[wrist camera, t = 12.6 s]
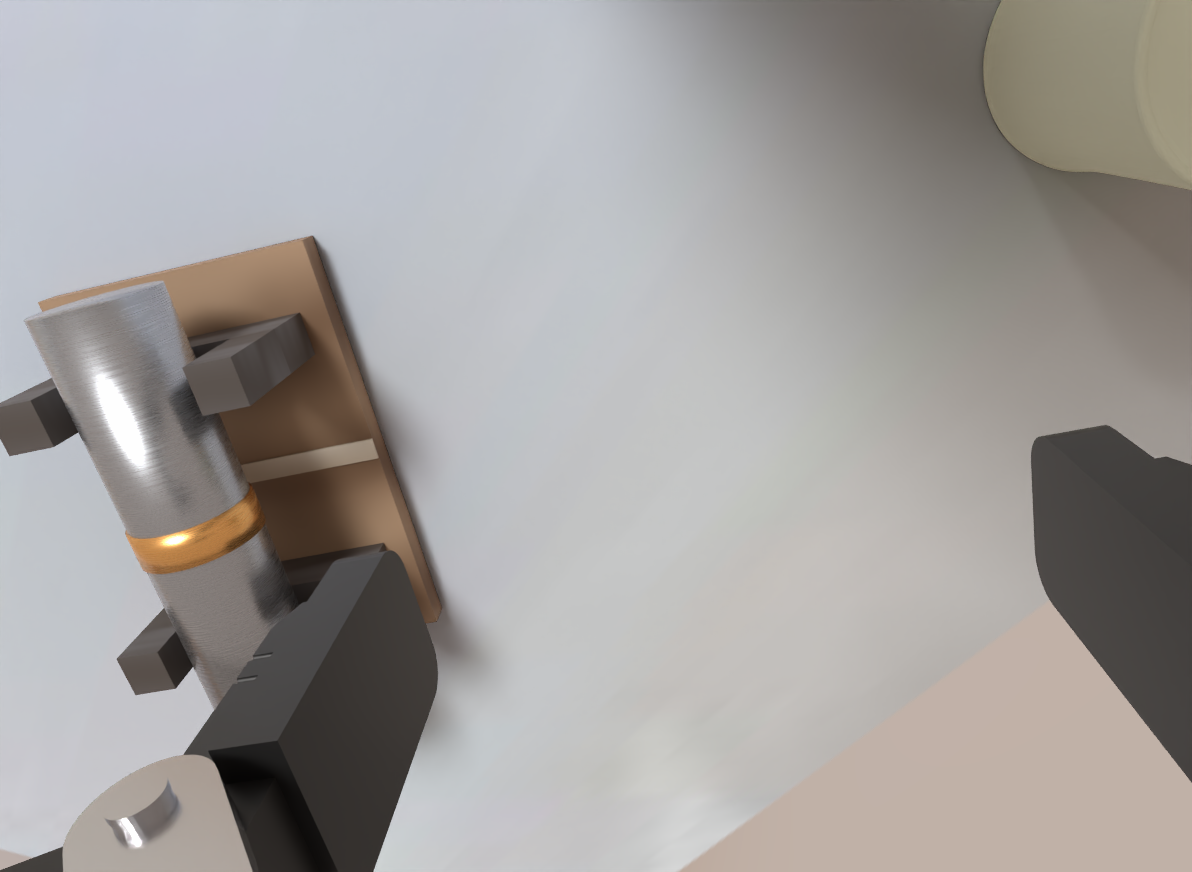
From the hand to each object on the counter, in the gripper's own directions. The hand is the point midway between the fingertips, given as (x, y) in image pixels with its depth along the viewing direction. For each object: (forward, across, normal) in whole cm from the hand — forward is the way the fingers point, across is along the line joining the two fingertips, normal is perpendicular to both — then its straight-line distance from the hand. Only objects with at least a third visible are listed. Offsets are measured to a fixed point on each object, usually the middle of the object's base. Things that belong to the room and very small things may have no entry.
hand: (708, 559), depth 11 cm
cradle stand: (+28, +22, +7) cm, 36 cm away
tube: (+24, +22, +7) cm, 33 cm away
